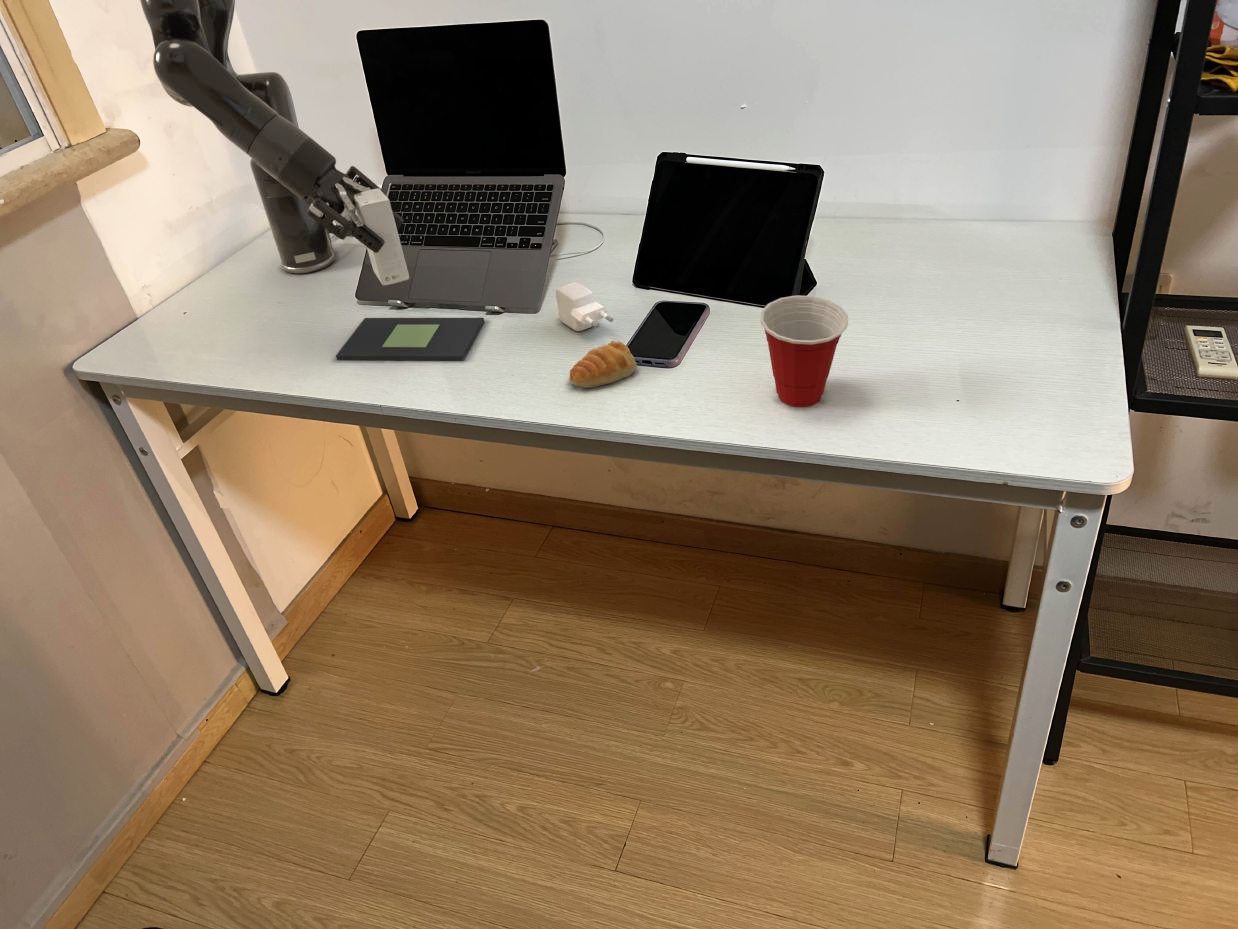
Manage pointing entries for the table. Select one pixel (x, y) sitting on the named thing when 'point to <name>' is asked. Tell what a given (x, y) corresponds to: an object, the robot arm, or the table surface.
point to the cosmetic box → (382, 236)
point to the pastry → (603, 366)
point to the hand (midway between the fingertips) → (390, 236)
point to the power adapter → (579, 307)
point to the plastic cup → (802, 345)
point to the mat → (411, 339)
